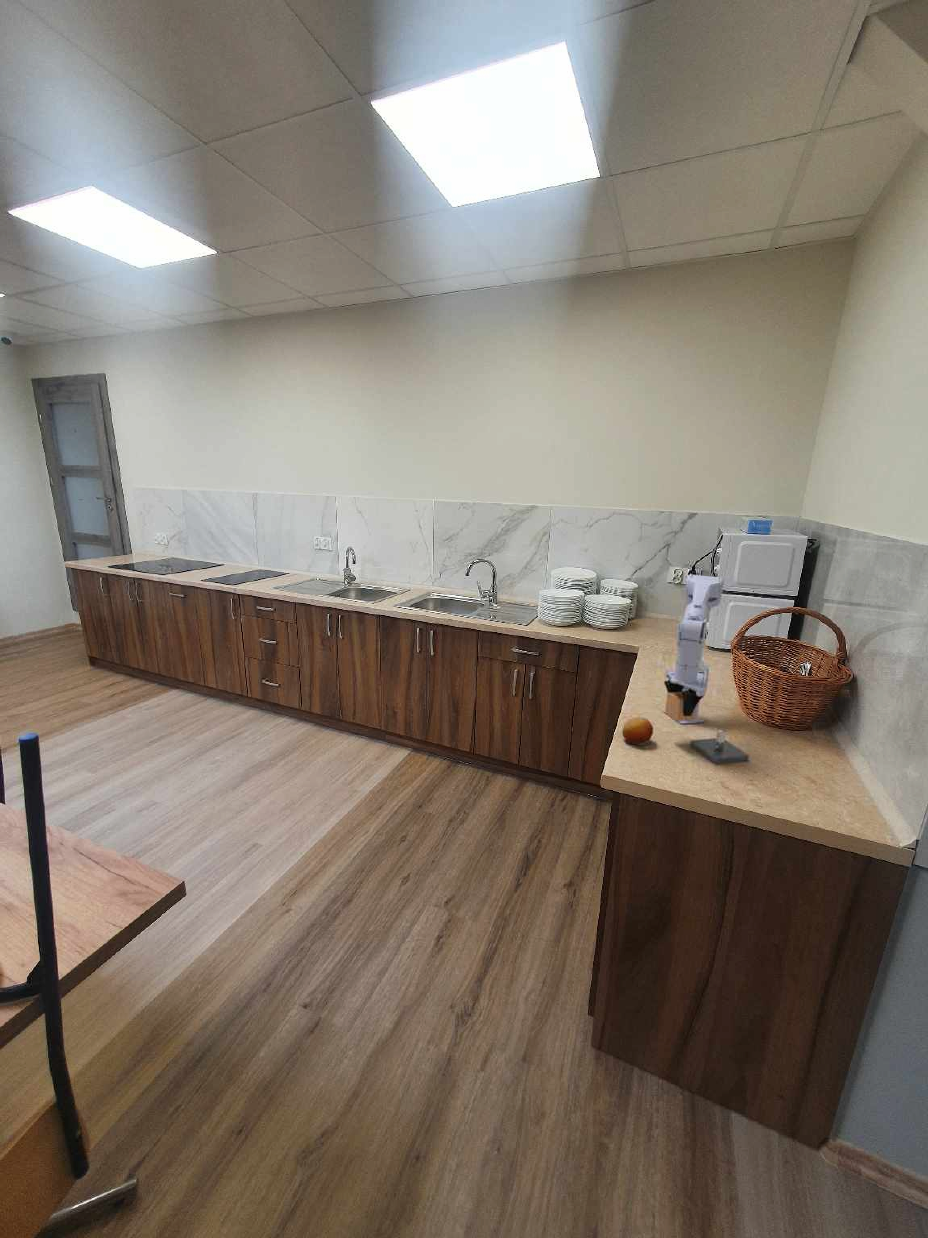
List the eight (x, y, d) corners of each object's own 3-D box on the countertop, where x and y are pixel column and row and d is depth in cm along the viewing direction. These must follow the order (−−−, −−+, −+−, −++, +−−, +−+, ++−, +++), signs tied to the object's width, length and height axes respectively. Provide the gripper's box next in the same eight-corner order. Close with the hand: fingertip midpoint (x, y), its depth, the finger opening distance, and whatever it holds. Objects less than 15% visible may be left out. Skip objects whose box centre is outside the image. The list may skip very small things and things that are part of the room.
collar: (664, 712, 141) (667, 692, 139) (682, 711, 142) (684, 691, 141) (677, 721, 136) (680, 700, 134) (694, 719, 137) (697, 699, 136)
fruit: (652, 748, 134) (640, 720, 135) (626, 753, 139) (614, 726, 140) (663, 738, 140) (651, 710, 141) (637, 743, 145) (626, 717, 146)
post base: (689, 745, 139) (692, 723, 138) (720, 742, 141) (724, 721, 140) (715, 764, 130) (718, 741, 128) (748, 760, 132) (752, 737, 130)
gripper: (657, 655, 141) (652, 701, 145) (691, 673, 128) (684, 723, 131) (680, 654, 143) (673, 699, 146) (715, 672, 129) (708, 721, 132)
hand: (680, 710), depth 139 cm, fingers closed on collar, 5 cm apart
